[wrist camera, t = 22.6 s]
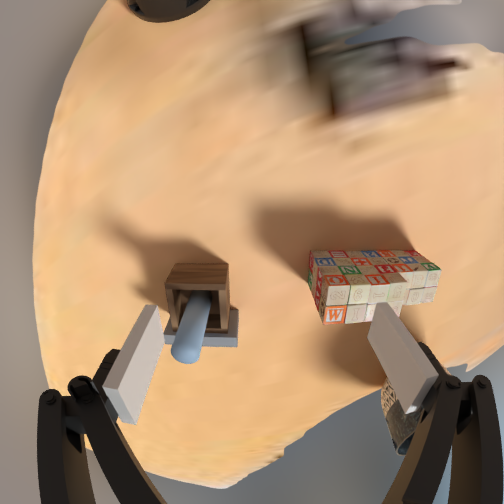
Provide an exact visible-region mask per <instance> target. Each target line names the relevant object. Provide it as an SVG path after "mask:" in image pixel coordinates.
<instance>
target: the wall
mask: <svg viewBox="0 0 504 504" xmlns="http://www.w3.org/2000/svg"><path fill="white" fill-rule="evenodd" d="M238 323H239V310H230V316H229V326H228V334H220V333H204V338H203V342H202V346H210V347H237V344H238ZM176 333H177V332H173V329H172V324H171V318H169V321H168V323H167V326H166V328H165V331H164V333H163V334H164V339H165V344H172V345H173V342H174V339H175V336H176Z"/></svg>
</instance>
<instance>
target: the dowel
mask: <svg viewBox="0 0 504 504" xmlns="http://www.w3.org/2000/svg"><path fill="white" fill-rule="evenodd" d="M211 302H212V294H211V292H210V291H209V290H193V291H192V292H191V295H190V298H189V300H188V303H187V306H186V308H185V311H184V314H183V317H182V319H181V322H180V325H179V328H178V330H177V333H176V336H175V339H174V342H173V345H172V347H171V354H172V356H173V357H174V358H175V359H176V360H177V361H179V362H181V363H185V364H191V363H195V362H196V361H197V360H198V359H199V356H200V351H201V347H202V342H203V338H204V333H205V329H206V324H207V320H208V315H209V311H210V307H211Z"/></svg>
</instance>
